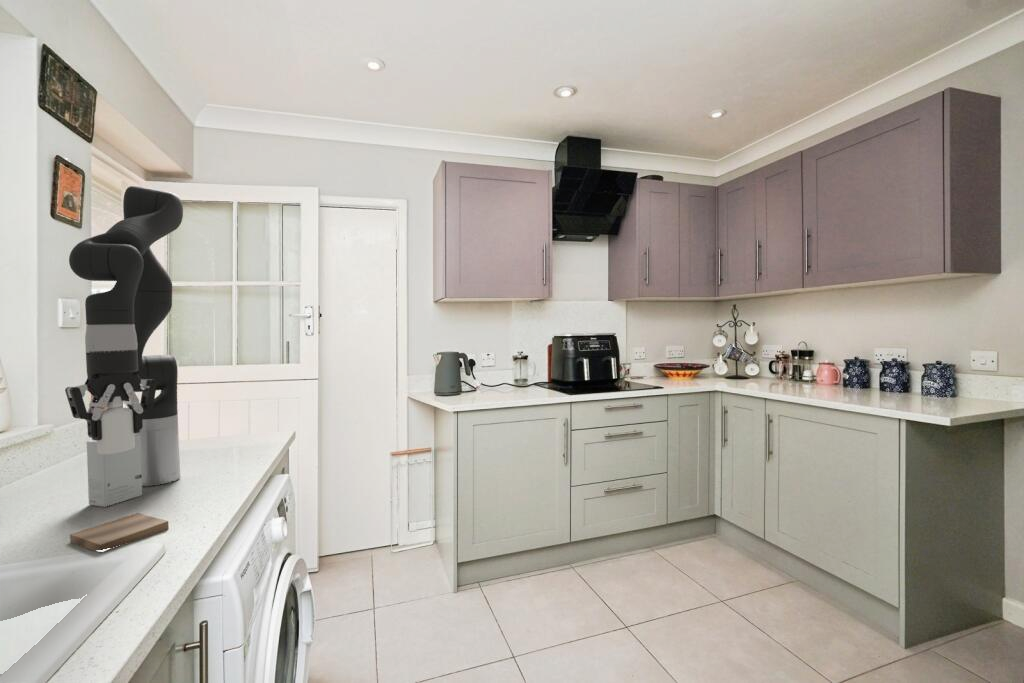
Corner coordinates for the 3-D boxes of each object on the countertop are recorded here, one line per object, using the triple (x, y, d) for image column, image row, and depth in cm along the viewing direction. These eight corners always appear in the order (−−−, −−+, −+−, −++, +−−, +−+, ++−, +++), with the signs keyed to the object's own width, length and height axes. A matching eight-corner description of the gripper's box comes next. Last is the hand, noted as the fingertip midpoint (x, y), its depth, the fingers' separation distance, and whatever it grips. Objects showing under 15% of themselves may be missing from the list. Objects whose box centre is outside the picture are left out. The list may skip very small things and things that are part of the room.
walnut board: (70, 542, 87) (69, 534, 87) (138, 519, 97) (137, 512, 97) (100, 553, 83) (100, 544, 83) (168, 528, 92) (168, 521, 92)
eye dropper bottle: (95, 452, 89) (92, 390, 88) (133, 446, 93) (130, 386, 93) (99, 456, 86) (95, 392, 86) (137, 450, 90) (134, 388, 90)
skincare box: (105, 508, 104) (102, 442, 104) (87, 505, 106) (83, 441, 106) (144, 494, 112) (141, 434, 112) (127, 492, 114) (124, 432, 114)
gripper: (144, 346, 97) (147, 427, 98) (53, 350, 84) (58, 443, 85) (165, 346, 94) (168, 430, 94) (73, 350, 81) (78, 447, 81)
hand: (116, 435), depth 89 cm, fingers closed on eye dropper bottle, 5 cm apart
